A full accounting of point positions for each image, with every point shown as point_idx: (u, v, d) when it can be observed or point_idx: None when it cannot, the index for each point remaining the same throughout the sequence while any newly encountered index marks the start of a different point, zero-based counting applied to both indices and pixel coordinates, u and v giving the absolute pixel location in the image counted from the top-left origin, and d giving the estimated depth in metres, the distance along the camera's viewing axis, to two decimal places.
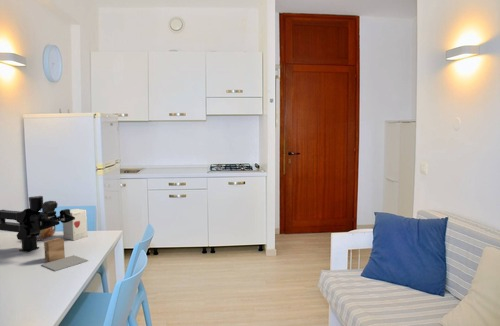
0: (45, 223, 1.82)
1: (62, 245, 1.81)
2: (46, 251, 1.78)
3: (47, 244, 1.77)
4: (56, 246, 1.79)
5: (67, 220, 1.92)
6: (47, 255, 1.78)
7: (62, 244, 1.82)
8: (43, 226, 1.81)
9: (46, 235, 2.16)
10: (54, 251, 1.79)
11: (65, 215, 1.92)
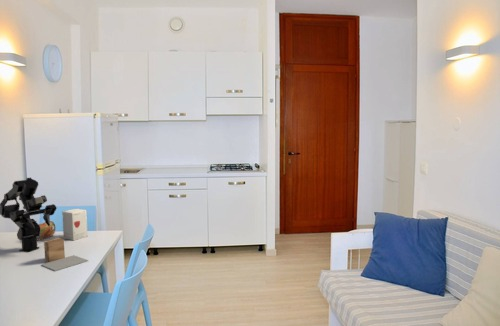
0: (24, 218, 1.84)
1: (62, 245, 1.81)
2: (46, 251, 1.78)
3: (47, 244, 1.77)
4: (56, 246, 1.79)
5: (44, 219, 1.91)
6: (47, 255, 1.78)
7: (62, 244, 1.82)
8: (21, 220, 1.84)
9: (46, 235, 2.16)
10: (54, 251, 1.79)
11: (45, 214, 1.91)
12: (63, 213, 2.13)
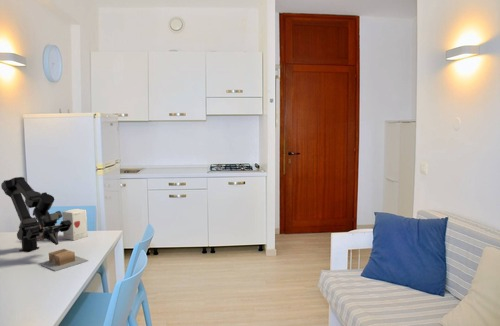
0: (47, 234, 1.80)
1: None
2: (54, 258, 1.74)
3: (58, 263, 1.72)
4: None
5: None
6: (52, 259, 1.75)
7: None
8: (43, 236, 1.79)
9: None
10: None
11: (53, 232, 1.81)
12: (63, 213, 2.13)
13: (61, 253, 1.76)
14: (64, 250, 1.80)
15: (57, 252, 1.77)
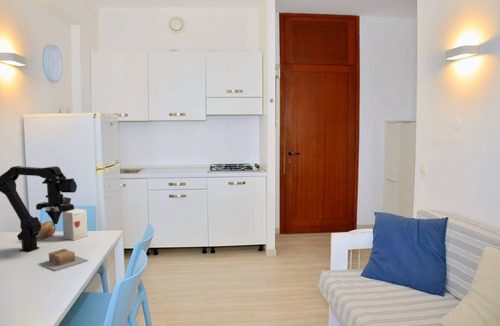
0: None
1: None
2: (54, 258, 1.74)
3: (58, 263, 1.72)
4: None
5: None
6: (52, 259, 1.75)
7: None
8: (57, 212, 1.91)
9: (46, 235, 2.16)
10: None
11: None
12: (63, 213, 2.13)
13: (61, 253, 1.76)
14: (64, 250, 1.80)
15: (57, 252, 1.77)
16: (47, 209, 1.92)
